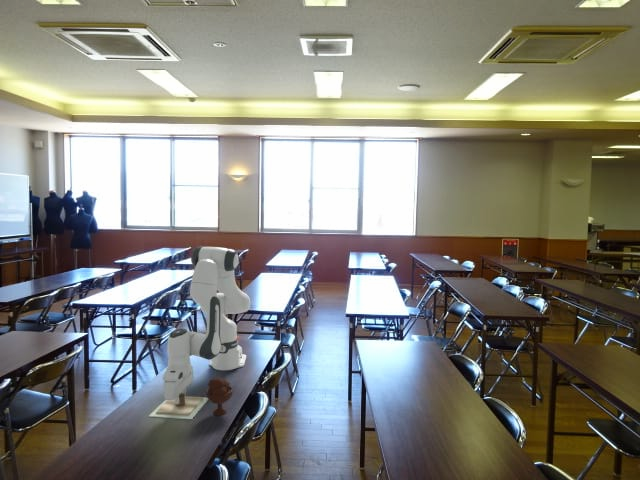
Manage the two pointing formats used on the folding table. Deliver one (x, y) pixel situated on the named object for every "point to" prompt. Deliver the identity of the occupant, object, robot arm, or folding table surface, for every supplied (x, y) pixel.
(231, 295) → the robot arm
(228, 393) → the ice cream bowl
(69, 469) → the folding table surface
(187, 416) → the lid mat
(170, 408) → the lid
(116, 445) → the folding table surface
